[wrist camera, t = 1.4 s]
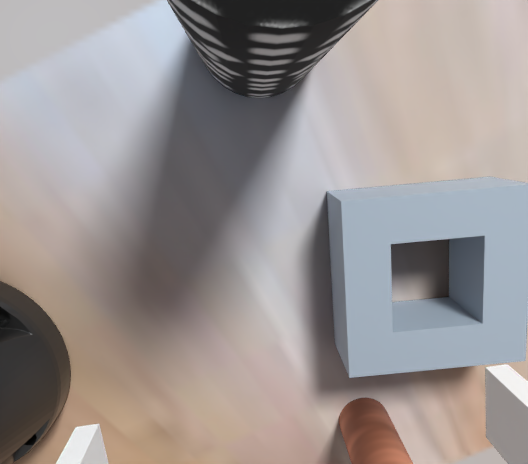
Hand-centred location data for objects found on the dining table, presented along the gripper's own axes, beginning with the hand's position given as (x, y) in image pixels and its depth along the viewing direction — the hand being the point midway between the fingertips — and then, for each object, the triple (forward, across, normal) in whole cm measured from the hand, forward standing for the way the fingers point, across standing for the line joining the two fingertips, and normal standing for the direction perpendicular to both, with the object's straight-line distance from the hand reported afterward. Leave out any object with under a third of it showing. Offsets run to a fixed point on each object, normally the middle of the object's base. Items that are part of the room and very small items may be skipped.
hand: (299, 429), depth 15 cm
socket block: (+18, +11, -1) cm, 21 cm away
